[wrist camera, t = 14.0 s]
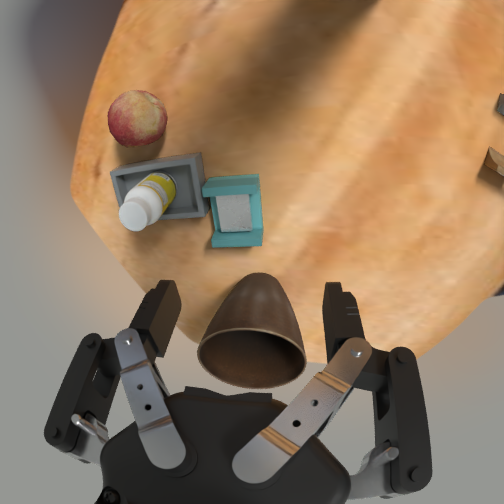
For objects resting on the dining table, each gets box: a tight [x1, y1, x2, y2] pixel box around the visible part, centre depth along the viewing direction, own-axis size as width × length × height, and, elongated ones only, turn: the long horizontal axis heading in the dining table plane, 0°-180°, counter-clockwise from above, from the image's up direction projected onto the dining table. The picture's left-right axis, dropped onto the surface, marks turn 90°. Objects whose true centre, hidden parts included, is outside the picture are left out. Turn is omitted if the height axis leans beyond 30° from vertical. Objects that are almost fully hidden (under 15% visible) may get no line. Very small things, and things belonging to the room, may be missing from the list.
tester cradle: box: [202, 174, 263, 248], centre depth 38 cm, size 9×7×4 cm
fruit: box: [108, 90, 168, 147], centre depth 29 cm, size 8×8×8 cm
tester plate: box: [216, 194, 253, 232], centre depth 37 cm, size 6×4×1 cm
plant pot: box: [197, 273, 307, 389], centre depth 41 cm, size 15×15×16 cm
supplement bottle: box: [119, 171, 177, 231], centre depth 34 cm, size 5×5×10 cm
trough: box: [110, 153, 210, 220], centre depth 37 cm, size 9×14×3 cm, turn 95°
